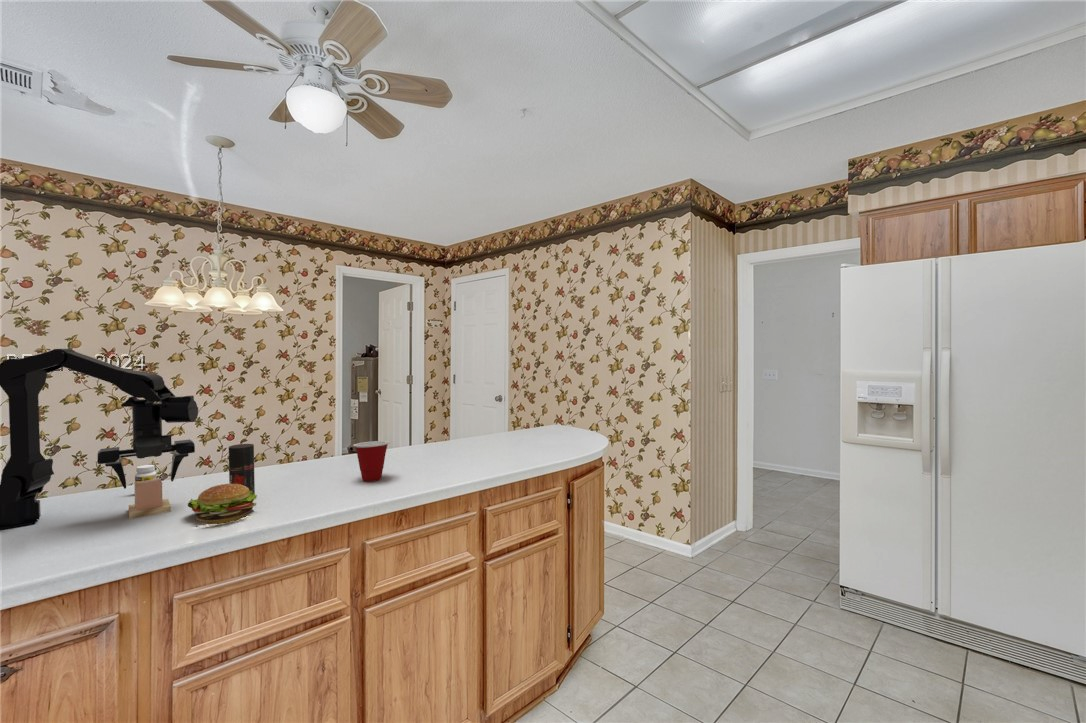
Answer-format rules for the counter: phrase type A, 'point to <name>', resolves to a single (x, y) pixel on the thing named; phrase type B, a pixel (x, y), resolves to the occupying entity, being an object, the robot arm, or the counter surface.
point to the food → (223, 503)
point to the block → (148, 494)
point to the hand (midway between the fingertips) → (149, 484)
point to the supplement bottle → (145, 473)
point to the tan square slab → (149, 510)
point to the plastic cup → (371, 459)
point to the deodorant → (242, 465)
